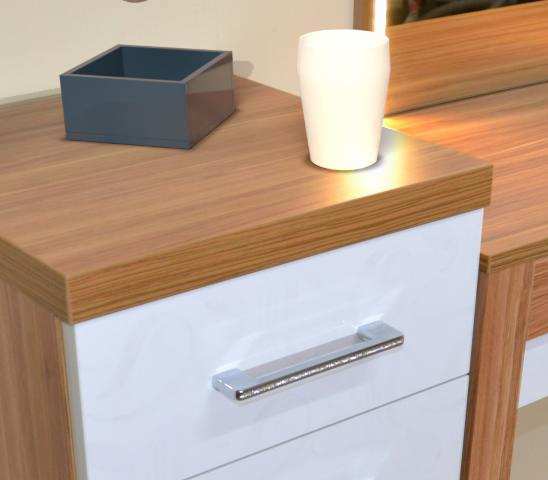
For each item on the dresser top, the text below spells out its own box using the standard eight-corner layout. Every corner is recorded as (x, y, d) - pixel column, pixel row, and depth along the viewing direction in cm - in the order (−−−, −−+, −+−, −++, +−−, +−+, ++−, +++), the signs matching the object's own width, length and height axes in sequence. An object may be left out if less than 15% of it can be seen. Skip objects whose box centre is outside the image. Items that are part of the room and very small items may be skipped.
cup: (357, 181, 109) (358, 54, 104) (280, 164, 113) (277, 41, 108) (405, 156, 116) (408, 36, 110) (331, 141, 120) (330, 25, 115)
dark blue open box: (189, 149, 117) (184, 83, 114) (66, 139, 120) (58, 75, 117) (235, 111, 130) (232, 50, 127) (123, 103, 133) (118, 44, 130)
